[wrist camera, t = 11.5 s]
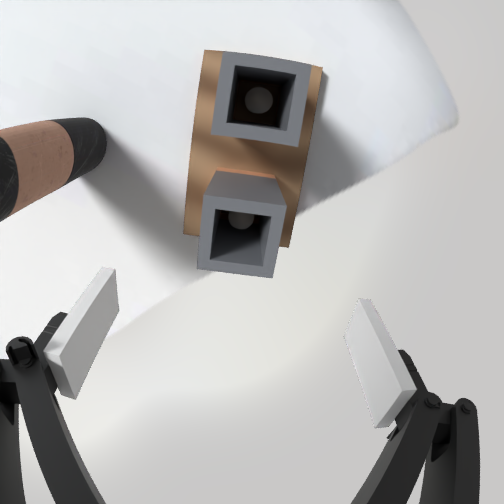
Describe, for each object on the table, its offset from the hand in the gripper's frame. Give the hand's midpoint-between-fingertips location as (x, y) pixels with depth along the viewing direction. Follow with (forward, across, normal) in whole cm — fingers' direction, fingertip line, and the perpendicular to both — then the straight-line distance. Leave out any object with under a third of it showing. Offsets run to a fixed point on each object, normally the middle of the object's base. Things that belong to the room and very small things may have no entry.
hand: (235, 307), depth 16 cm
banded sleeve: (+22, 0, 0) cm, 22 cm away
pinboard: (+23, 0, +5) cm, 23 cm away
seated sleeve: (+22, 0, +11) cm, 24 cm away
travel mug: (+23, -21, +4) cm, 31 cm away
